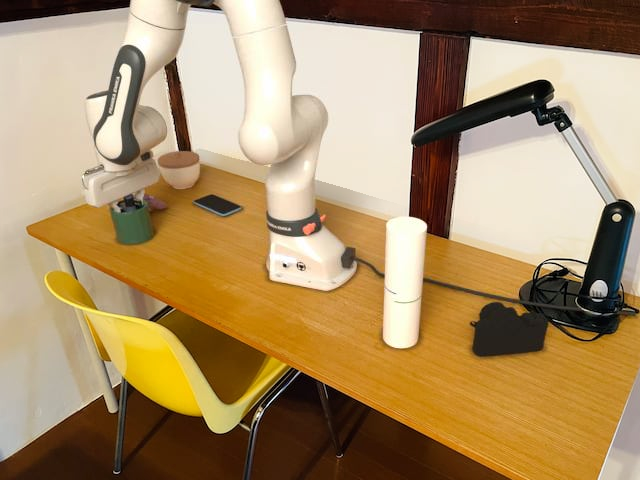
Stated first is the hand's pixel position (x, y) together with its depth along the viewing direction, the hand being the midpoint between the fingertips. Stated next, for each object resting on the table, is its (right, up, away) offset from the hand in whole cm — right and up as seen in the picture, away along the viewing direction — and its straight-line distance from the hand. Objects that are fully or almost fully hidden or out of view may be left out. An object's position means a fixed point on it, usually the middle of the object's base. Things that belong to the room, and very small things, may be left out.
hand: (129, 210), depth 138 cm
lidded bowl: (+3, +12, +34) cm, 36 cm away
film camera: (+88, -30, -32) cm, 98 cm away
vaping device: (-1, -6, +4) cm, 7 cm away
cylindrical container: (+68, -29, -31) cm, 80 cm away
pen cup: (0, -7, +4) cm, 8 cm away
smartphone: (+17, +3, +20) cm, 27 cm away
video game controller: (-2, +2, +18) cm, 18 cm away
